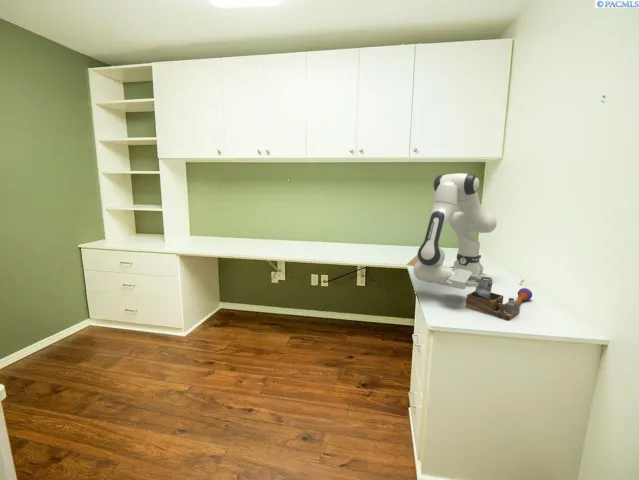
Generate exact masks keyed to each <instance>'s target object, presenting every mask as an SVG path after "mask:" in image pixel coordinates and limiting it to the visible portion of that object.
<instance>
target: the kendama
mask: <svg viewBox="0 0 639 480" xmlns="http://www.w3.org/2000/svg"><path fill="white" fill-rule="evenodd" d="M517 297H518V298H517V299H515V301H516V302H519V303H518V309H520V305H521V303H522V301H529V300H531V299H532V297H533V292H532V291H531V290H530V289H529V288H526V287H524V288H523V287H521V288H520V289H519V290H518V291H517Z"/></svg>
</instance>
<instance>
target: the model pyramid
mask: <svg viewBox="0 0 639 480" xmlns="http://www.w3.org/2000/svg"><path fill="white" fill-rule="evenodd" d="M418 261H419V259H418V254H416V255H415V256H414V257H413V258H411V260H410V261H409V262H408V263H406V264H405V265H406V266H410V267H414V266H415V264H416V263H417V262H418Z"/></svg>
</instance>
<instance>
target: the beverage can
mask: <svg viewBox="0 0 639 480" xmlns="http://www.w3.org/2000/svg"><path fill="white" fill-rule="evenodd" d="M476 282H477V283H479V286H478V287H475V291H476V292H475V297H478V298H482V299H485V300H489V301H490V294H491V293H492V285H493V278H492V276H489V275H487V276H484V275H479V277H478V278H477V281H476Z"/></svg>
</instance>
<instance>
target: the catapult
mask: <svg viewBox="0 0 639 480" xmlns="http://www.w3.org/2000/svg"><path fill="white" fill-rule="evenodd" d="M475 292H476V290H474V291H472V292H470V293H468V294H467V295H466V301H465V308H467V309H471V310H474V311H477V312H479V311H480V312H479V313H481V314H482V313H483V314H485V315H489V316H492V317H495V318H498V319H502V320H504V321H508V322H509V321H511V320H512V319H514V318H515V317H516V316H517V315H519V314H520V311H521V309H520V308H518V303H519V302H516V300H515V298H513V297H509V298H508V301H507V302H506V303H504V295H502V294H499V293H494V292H491V294H490V301H489V300H485V299H482V298H478V297H475ZM495 309H498V310H495Z"/></svg>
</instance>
